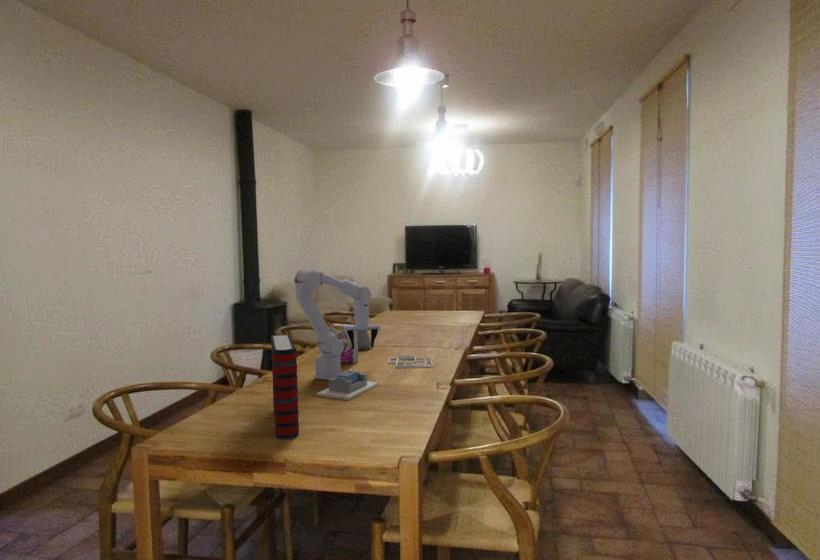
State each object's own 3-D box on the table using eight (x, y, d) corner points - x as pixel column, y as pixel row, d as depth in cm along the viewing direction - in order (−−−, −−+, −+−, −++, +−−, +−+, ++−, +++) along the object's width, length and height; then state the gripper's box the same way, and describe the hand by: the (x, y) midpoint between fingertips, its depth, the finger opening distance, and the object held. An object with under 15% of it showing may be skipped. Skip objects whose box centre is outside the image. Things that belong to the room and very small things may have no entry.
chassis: (317, 395, 185) (316, 381, 184) (348, 381, 203) (347, 368, 202) (348, 400, 179) (348, 385, 179) (378, 385, 197) (377, 371, 196)
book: (300, 438, 146) (297, 349, 144) (274, 441, 144) (271, 350, 142) (293, 409, 170) (291, 333, 168) (271, 412, 168) (268, 334, 166)
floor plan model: (376, 359, 241) (376, 355, 241) (431, 358, 241) (431, 354, 240) (373, 369, 222) (373, 365, 222) (432, 369, 222) (432, 364, 222)
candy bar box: (331, 361, 235) (330, 325, 234) (337, 359, 240) (336, 323, 238) (352, 363, 230) (352, 326, 229) (358, 361, 235) (357, 324, 234)
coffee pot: (350, 346, 268) (350, 316, 267) (373, 346, 268) (373, 316, 267) (343, 355, 247) (343, 323, 246) (368, 355, 247) (367, 323, 245)
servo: (335, 390, 187) (335, 373, 186) (351, 382, 196) (350, 367, 195) (345, 391, 185) (344, 375, 185) (360, 384, 194) (359, 368, 194)
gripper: (344, 317, 211) (345, 351, 212) (380, 316, 213) (381, 349, 214) (343, 315, 218) (344, 347, 219) (378, 313, 220) (379, 345, 221)
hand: (362, 348), depth 217 cm, fingers open, 7 cm apart
